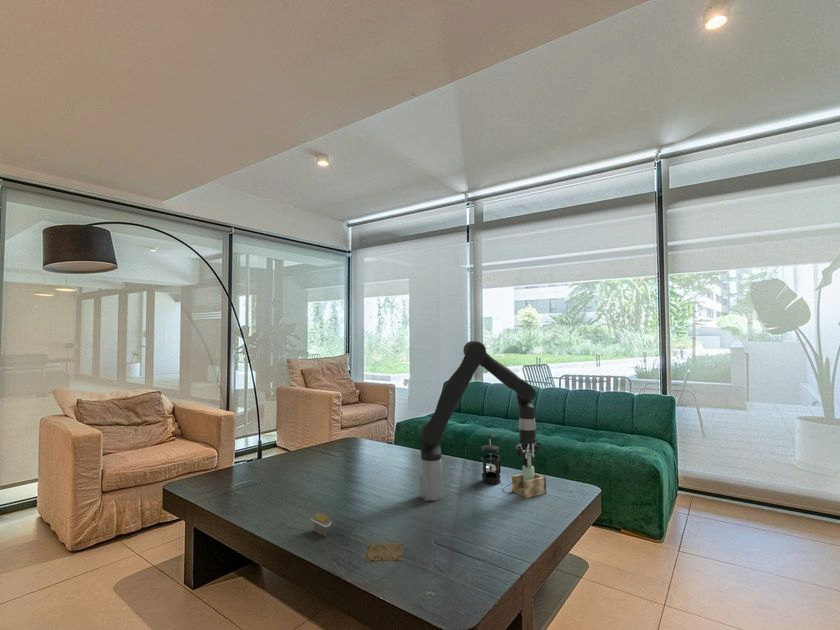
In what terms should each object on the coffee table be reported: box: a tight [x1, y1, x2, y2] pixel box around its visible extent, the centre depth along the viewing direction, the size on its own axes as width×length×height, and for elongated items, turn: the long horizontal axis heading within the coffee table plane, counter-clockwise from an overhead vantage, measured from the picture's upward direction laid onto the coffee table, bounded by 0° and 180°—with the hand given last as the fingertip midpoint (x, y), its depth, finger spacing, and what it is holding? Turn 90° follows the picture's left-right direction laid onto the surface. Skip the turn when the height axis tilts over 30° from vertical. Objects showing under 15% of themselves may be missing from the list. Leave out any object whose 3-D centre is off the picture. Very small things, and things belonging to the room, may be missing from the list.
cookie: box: [365, 542, 404, 562], centre depth 142 cm, size 12×12×1 cm
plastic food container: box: [310, 512, 332, 538], centre depth 157 cm, size 12×18×7 cm, turn 47°
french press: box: [480, 433, 502, 486], centre depth 210 cm, size 12×9×23 cm
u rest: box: [511, 472, 548, 499], centre depth 195 cm, size 12×10×7 cm
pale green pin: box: [522, 452, 535, 487], centre depth 195 cm, size 5×5×16 cm
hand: (528, 465), depth 195 cm, fingers closed on pale green pin, 3 cm apart
